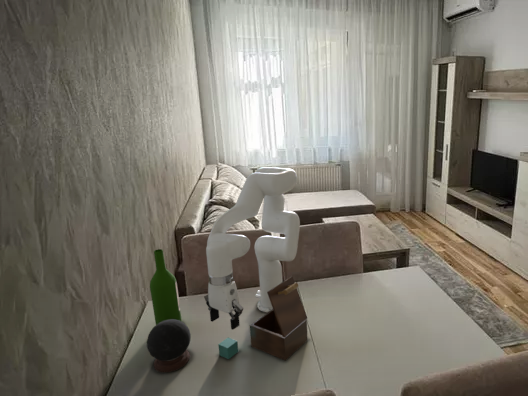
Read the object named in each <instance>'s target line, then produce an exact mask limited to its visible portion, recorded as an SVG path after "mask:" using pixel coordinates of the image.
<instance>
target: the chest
mask: <svg viewBox="0 0 528 396" xmlns="http://www.w3.org/2000/svg"><path fill="white" fill-rule="evenodd" d="M249 335H250V337H249V338H250V347H251V348H254V349H256V350H259V351H261V352H263V353H266V354H269V355H271V356H273V357H276V358H278V359H281V360H282V361H287V360H288V359H289V358H290V357H291V356H293V354H295V352H297V350H299V349H300V348H301V347H302V346H303V345H304V344H305V343H306V342H307V341H308V318H307V319H306V320H305V321H304V322H302V323H301V324H300V325H299V326H298V327H296V328H295V329H294V330H293V331H292V332H290V333H289V334H288V335H287V336H286V337H283V335H282V332H281V329H280V326H279V324H278V321H277V318H276V316H275V313H274V310H273V309H272V310H270V311H269V312H265V314H263V315H261V316H260V317H259V318H257V319H256V320H255V321H253V322H252V323H250V324H249Z"/></svg>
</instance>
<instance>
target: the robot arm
mask: <svg viewBox="0 0 528 396" xmlns="http://www.w3.org/2000/svg"><path fill="white" fill-rule="evenodd" d="M297 182H298V175H297V172H296V171H295V170H294V169H292V168H283V167H271V166H270V167H269V166H265V167H259V168H257V169H256V171H255V172H252V173H250V174H249V175H247V177H246V179H245V181H244V183H243V185H242V188H241V191H240V193H239V195H238V198H237V200H236V203H235V204H234V206H232V207H230V208H229V209H228V210H227V211H225V212H224V213H222V214H221V215H220V216H219V217H218V218H217V220H216V221H215V222H214V223H213V226H212V228H211V229H210V232H209V234H208V238H207V241H206V247H205V255H206V265H207V273H208V286H207V294H205V295H204V296H203V298H204V301H205V304H206V306H207V309H208V311H209V318H210V322H212V323H213V322H215V321H216V320H217V319H219V318H220V312H223V313H227V314H228V315H229V317H230V319H229V320H230V330H235V329H236V328H238V327H239V326H240V316H241V315H242V314H243V311H244V306H242V304H240V297H239V292H238V287H237V284H236V282H235V278H234V273H233V272H234V271H233V260H236V259H239V258H241V257H244V256H245V255H246V254H247V253H248V252H249V251H250V248H251V240H250V239H249V238H248V237H247V236H245V235H243V234H236V233H227V232H228V231H229V230H230V228H231V227H233V226H235V225H236V224H238V223H240V222H243V221H246V220H249V219H251V218H254V217H256V216H257V215H258V214H259V211H260V209H261V206H262V203H263V206H262V207H263V208H262V215H261V224H260V225H261V229H262V230H263V231H264V232H266V233H271V234H281V235H284V237H282V236H275V235H262V236H259V237H258V238H257V239H256V240H255V242H254V247H253V248H254V253H255V258H256V260H257V268H258V281H259V290H258V289H257V291H256V294H255V295H254V298H257V299H258V302H257V303H256V306H257V309H258V310H259V311H260V312H263V313H267V312H269V311H270V310H272V309H273V307H272V305H271V302H270V299H269V296H268V294H267V292H268V291H269V290H271V289H273V288H274V287H276V286H277V285H279V284H280V283H282V282H283V267H282V264H281V262H292V261H294V260H295V258H296V256H297V253H298V246H299V237H300V228H301V219H300V217H299V215H298V213H296V212H294V211H289V210H288V211H287V210H285V203H286V202H285V196H284V194H286V193H288V192H290V191H292V190H293V189H294V188H295V187H296V186H297V184H298V183H297ZM219 311H220V312H219Z"/></svg>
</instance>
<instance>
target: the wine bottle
mask: <svg viewBox="0 0 528 396" xmlns="http://www.w3.org/2000/svg"><path fill="white" fill-rule="evenodd" d="M153 255H154V261H155V263H154V264H155V272H154V273H153V276H152V277H151V278H150V282H149V290H150V297H151V302H152V303H151V304H152V308H153V316H154V323H155V326H156V325H157V324H158V323H160V322H162V321H165V320H169V319H175V320H179V321H181V322H183V319H182V312H181V305H180V297H179V289H178V283H177V279H176V277H175V275H174V274H173V273H172V272H170V270H168V269H167V266H166V261H165V254H164V250H163V249H162V248H158V249H155V250H153Z"/></svg>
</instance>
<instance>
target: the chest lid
mask: <svg viewBox="0 0 528 396" xmlns="http://www.w3.org/2000/svg"><path fill="white" fill-rule="evenodd" d="M298 288H299V283H298V282H296V281H295V280H294V277H293V275H291V276H290V277H288V278H286V279H284V280H282V283H280V284H279V285H277V286H276V287H274V288H273V289H271V290H269V291H268V292H267V294H268V296H269V299H270V302H271V305H272V307H273V310H274V313H275V316H276V318H277V321H278V324H279V326H280V329H281V332H282V335H283V337H286V336H287V335H288V334H289V333H290V332H292V331H293V330H294V329H295V328H296V327H298V326H299V325H300V324H301V323H302V322H304V321H305V320H306V319H307V320H308V315H307V313H306V310H305V307H304V305H303V301H302V299H301V295H300V293H299V291H298Z"/></svg>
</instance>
